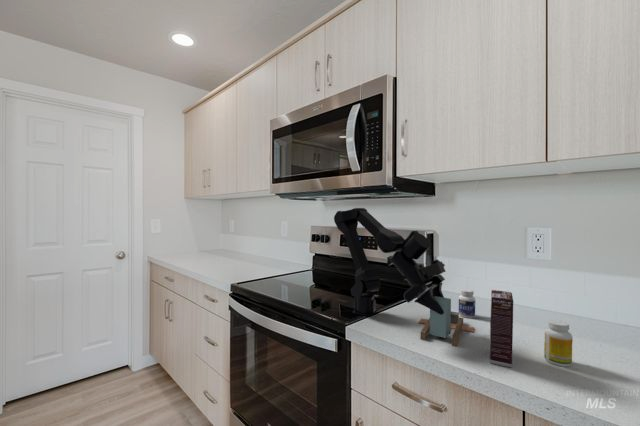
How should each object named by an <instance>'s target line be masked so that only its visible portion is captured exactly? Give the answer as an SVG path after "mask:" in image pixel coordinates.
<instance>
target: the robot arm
mask: <svg viewBox="0 0 640 426" xmlns="http://www.w3.org/2000/svg"><path fill="white" fill-rule="evenodd" d="M333 221H334V224H335V226H336V228H337V229H338V230H339V231H340V232H341V233H342V234H343V235H344V238H345V241H346V245H347V246H348V251H349V252H350V256H351V259H352V261H353V265H354V267H355V275H354V281H355V283H354V285H353V286H352V287H351V288H350V293H351V294H350V295H351V296H352V297H354V310H352V314H356V315H362V316H367V315H368V317H371V316H372V315H373V314H375V313H376V312H377V310H376V308H377V305H376V303H377V300H376V299H375V296H377V295H379V292H380V289H381V285H382V281H381V280H382V278H381V276H380V274H379V271H378V268H376V267H375V268H373V267H372V266H371V265H370V263H369V261H368V257H367V256H366V253H365V250H364V247H363V244H362V242H361V238H360V236H359V234H358V231H357V230H358V224H360V225H361V226H362V227H363V228H364V229H365V230H366V231H368V232H369V233H370V234H371V236H372V237H373V238H374V239H375V244H376V245H377V247H378V249H379V250H380V251H381V252H382V253H384V254H391V253H393V254H392V255H389V256H387V257H386V259H387V261H386V266H387V267H389V266H392V265H394V267H396V269H397V270H398V271H399V273H400V274H401V275H402V276H401V279H402V280H403V281H407V283H408V284H409V286H410V287H409V288H408V289H406V290H405V291H404V292H403V298H404V300H405V301H406V303H408V304H409V303H411V302H412V301H413V302H414V303H417V304H419V305H422V306H424V307H425V308H428V309H429V310H430V309H431V310H433V311H435V312H437V313H438V314H440V315H442V314H443V313H444V311H443V310H442V308H441V307H440V305H439V304H438V302H437V301H436V299H435V298H434V297H435V296H438V297H444V298H445V296H444V294H443V291H442V288H443V287H442V286H443V282H444V281H445V277H443V275H442V274H443V273H446V268H445V266H446V265H445V263H443V261H440V260H439V259H434V260H431V261H430V262H431V263H430V265H427V266H424V265H423V264H421V263H420V264H419V263H417V261H416V260H419V259H420V258H421V257H422V256H423V255H424V254H425V253H426V252H427V251H428V250H429V249H430V248H431V247H432V243H431V241H430V239H429V238H428V237H426V236H425V235H423V234H422V233H419V230H411V232H410V233H409V235H407V237H406V239H405V238H404V237H403V236H402V235H401V234H399V233H397V232H395V231H393V230H391V229H389V228H387V227H385V226H384V225H383V224H382V223H381V222H379V221H378V220H377V219H376V218H375V217H374V216H372V214H370V212H369V211H368V210H367V209H366V208H364V207H355V208H352V209H347V210H338V211H336V213H335V214H334V216H333ZM415 298H416V299H415ZM414 299H415V300H414ZM375 311H376V312H375ZM372 313H373V314H372ZM371 314H372V315H371ZM370 315H371V316H370Z"/></svg>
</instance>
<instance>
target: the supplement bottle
mask: <svg viewBox="0 0 640 426" xmlns="http://www.w3.org/2000/svg"><path fill="white" fill-rule="evenodd" d="M547 324H548V328H546V329H544V344H543V345H544V350H543V353H544V355H543V356H544V357H543V358H544V360H545V361H546V362H548V363H550V364H552V365H555V366H558V367H562V368H564V367H565V368H567V367H571V366H572V364H573V335H572V333H571V332H570V331H569V330H570V324H569V323H568V322H567V321H563V320H558V319H549V320H548V323H547Z"/></svg>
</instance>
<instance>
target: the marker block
mask: <svg viewBox="0 0 640 426" xmlns="http://www.w3.org/2000/svg"><path fill="white" fill-rule="evenodd" d="M434 298H435V299H436V301H437V302H438V304H439V305H440V307H441V308H442V310H443V311H444V313H443V314H442V315H440V314H438V313H437V312H435V311H433V310H431V309H429V318H430V332H429V335H432V336H436V337H441V338H444V339H446V338H447V337H449V335H450V334H451V333H452V332H451V330H452V329H451V324H452V323H451V311H452V298H448V297H445V296H444V297H438V296H435V297H434Z"/></svg>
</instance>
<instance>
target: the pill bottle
mask: <svg viewBox="0 0 640 426" xmlns="http://www.w3.org/2000/svg"><path fill="white" fill-rule="evenodd" d="M457 312H458V313H459V317H461V318H465V319H466V318H467V319H472V318H473V319H474V318H475V317H476V297H474V290H473V289H470V288H469V289H468V288H462V289H460V295H459V296H458V311H457Z"/></svg>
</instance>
